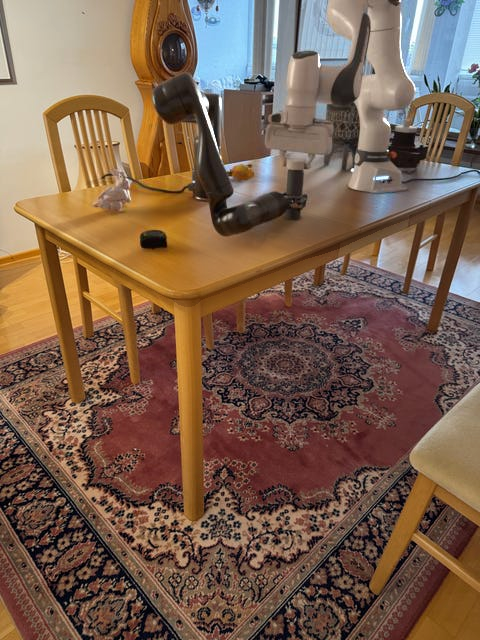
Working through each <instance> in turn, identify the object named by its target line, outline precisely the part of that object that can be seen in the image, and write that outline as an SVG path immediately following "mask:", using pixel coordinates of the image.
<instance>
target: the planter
mask: <svg viewBox="0 0 480 640" xmlns="http://www.w3.org/2000/svg"><path fill="white" fill-rule="evenodd" d="M325 120H329V121H330V122H332V124H333V125H334V130H333V135H332V151H331V152H330V153H329V154H328V155H323V157H324V158H323V165H325V166H328V165H330V163H331V158H332V156H333V154H334V153H335V152H336V151H335V150H336V149H338V148H340V147H342V153H341V166H340V170H341V172H345V171H347V167H348V166H347V165H348V159H349V153H350V154H351V157H352V158H351V159H352V160H351V161H352V166H353V167H354V166H355V155H356V149H357V148H358V142H359V134H360V119H359V113H358V109H357V107H356V105H355V103H354V102H353V103H352V104H350V105H349V106H347V107H344V106H338V105H334V104H326V109H325ZM329 124H330V123H329ZM349 150H350V151H351V152H349ZM334 151H335V152H334Z"/></svg>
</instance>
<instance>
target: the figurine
mask: <svg viewBox="0 0 480 640" xmlns="http://www.w3.org/2000/svg"><path fill="white" fill-rule="evenodd" d="M108 171H109V172H110V174H112V175H113V176H112V177H114V178H115V185H109V186H107V187H106V188H105V189H104V190H103V191H102V192H101V193H100V195H98V196H97V198H96V199H97V200H96V201H94V202H92V206H93V207H94V208H100V209H102V210H105V211H110V212H116V213H118V212H119V213H120V212H124V210H123V209H122V207H126V203H128V204H129V203H131V202H132V198H131V196H130V195H131V194H130V193H131V192H130V188H131V184H132V183H133V181H132V180H129V179H127V178H126V177H127V175H126V173H125V172H124V171H123V170H121V169H120V168H117V169H116V168H114V167H111V168H109V169H108ZM120 176H121V177H122V178H120Z"/></svg>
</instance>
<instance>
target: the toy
mask: <svg viewBox="0 0 480 640" xmlns="http://www.w3.org/2000/svg"><path fill="white" fill-rule="evenodd" d="M254 171H255V170H254V166H253V164H252V163H248V164H244V163H239V164H236V165H234V166H233V167H232V168H230V169H229V170H226V172H227V174H228V176H229V178H230V177H232V178H233V179H236V180H238V181H241V182H243V181H248V180H250V179H253V178H254V177H255V175H256V174H255V172H254Z"/></svg>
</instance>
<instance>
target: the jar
mask: <svg viewBox="0 0 480 640" xmlns="http://www.w3.org/2000/svg"><path fill="white" fill-rule="evenodd" d="M304 176H305V170H291V169H287V175H286V189H285V192H286V196H292V195H294V196H300V195H303V191H304ZM297 201H298V199H297ZM301 213H302V210H301V211H298V210H297V208H296V207H295V208H291V209H288V210H286V212H285V213H284V219H286V220H291V221H297V220H300V219H301Z"/></svg>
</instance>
